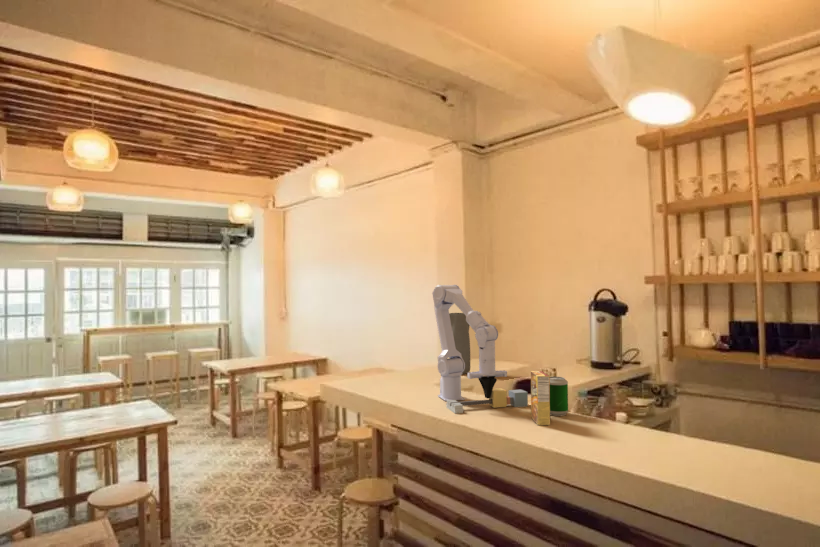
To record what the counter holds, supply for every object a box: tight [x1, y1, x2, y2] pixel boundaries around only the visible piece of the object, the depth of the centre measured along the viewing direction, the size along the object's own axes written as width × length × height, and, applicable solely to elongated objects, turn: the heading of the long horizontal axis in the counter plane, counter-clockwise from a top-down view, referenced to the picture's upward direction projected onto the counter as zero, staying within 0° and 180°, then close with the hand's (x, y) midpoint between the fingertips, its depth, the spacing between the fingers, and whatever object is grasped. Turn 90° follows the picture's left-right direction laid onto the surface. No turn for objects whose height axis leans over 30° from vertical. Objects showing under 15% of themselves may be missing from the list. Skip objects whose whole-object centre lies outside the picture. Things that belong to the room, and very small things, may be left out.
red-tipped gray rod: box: [451, 395, 511, 407], centre depth 173 cm, size 23×3×3 cm, turn 105°
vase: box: [448, 312, 471, 375], centre depth 246 cm, size 12×12×30 cm
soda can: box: [550, 376, 569, 417], centre depth 164 cm, size 8×8×12 cm
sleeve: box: [488, 387, 508, 408], centre depth 175 cm, size 4×5×6 cm
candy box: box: [530, 370, 551, 426], centre depth 155 cm, size 9×4×15 cm, turn 179°
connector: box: [507, 389, 529, 408], centre depth 177 cm, size 5×7×5 cm
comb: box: [445, 400, 464, 414], centre depth 171 cm, size 9×3×3 cm, turn 15°
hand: (487, 397), depth 174 cm, fingers closed
